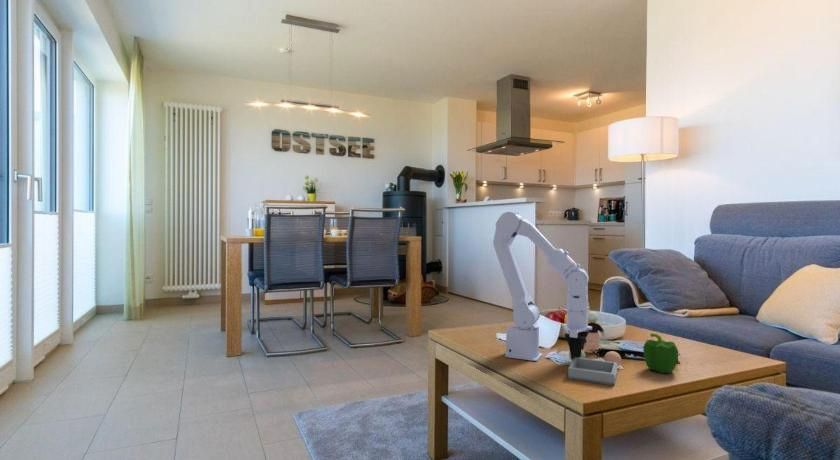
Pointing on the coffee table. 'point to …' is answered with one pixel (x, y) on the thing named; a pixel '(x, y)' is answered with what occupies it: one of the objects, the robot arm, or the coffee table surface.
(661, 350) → the bell pepper
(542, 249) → the robot arm
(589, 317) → the grandmother figurine
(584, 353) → the olive ball
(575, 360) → the dish
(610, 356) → the terracotta ball
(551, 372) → the coffee table surface
